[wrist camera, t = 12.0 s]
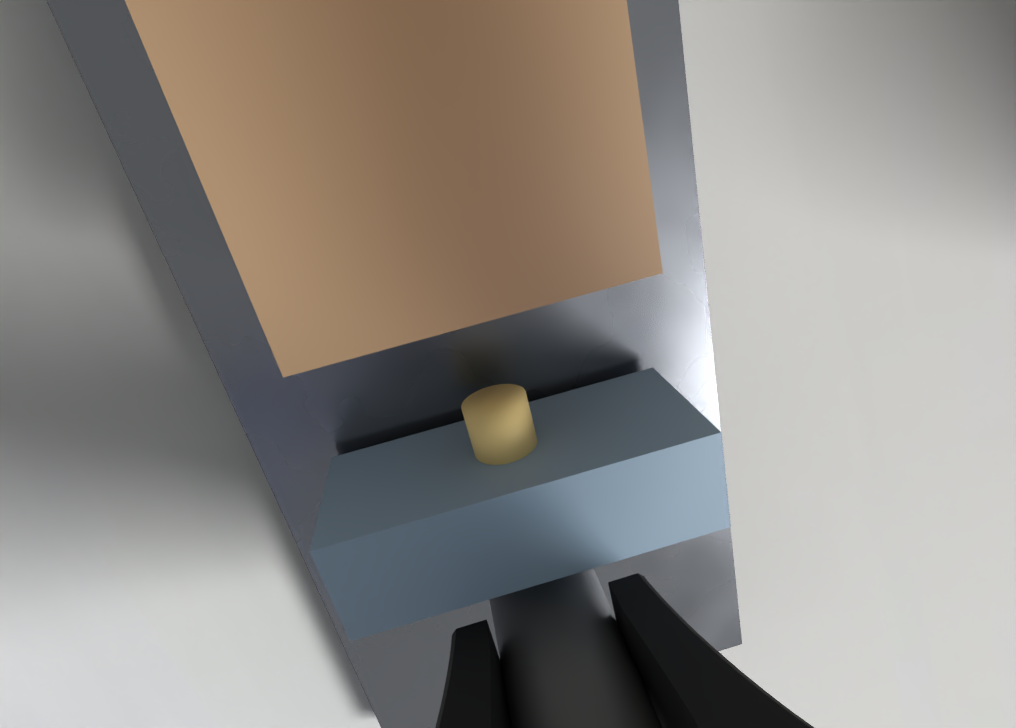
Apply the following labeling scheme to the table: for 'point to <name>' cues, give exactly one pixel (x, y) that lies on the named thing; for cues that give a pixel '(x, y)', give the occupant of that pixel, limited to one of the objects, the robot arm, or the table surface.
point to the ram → (526, 531)
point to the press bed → (429, 344)
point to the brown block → (409, 158)
